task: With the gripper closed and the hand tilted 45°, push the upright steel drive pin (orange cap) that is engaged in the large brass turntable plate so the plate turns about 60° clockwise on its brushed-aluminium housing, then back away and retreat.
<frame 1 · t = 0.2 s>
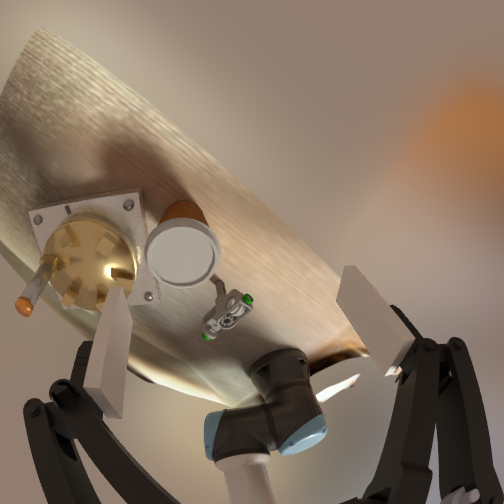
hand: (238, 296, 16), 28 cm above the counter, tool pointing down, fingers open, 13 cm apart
disposable coffee cup: (183, 219, 42), on the counter
mechanical component: (219, 283, 50), on the counter
brass turntable plate: (78, 286, 33), point 10 cm above the counter, hinge at 0.0°
housing: (95, 252, 41), on the counter
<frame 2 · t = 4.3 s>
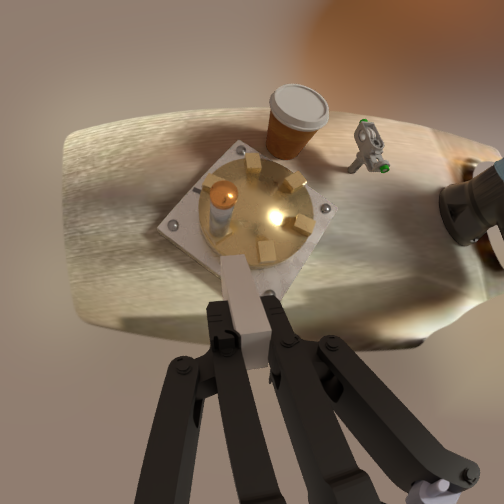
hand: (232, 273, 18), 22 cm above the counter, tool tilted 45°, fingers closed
disposable coffee cup: (282, 146, 48), on the counter
mechanical component: (350, 171, 49), on the counter
brass turntable plate: (263, 193, 33), point 10 cm above the counter, hinge at 0.0°
housing: (251, 221, 43), on the counter
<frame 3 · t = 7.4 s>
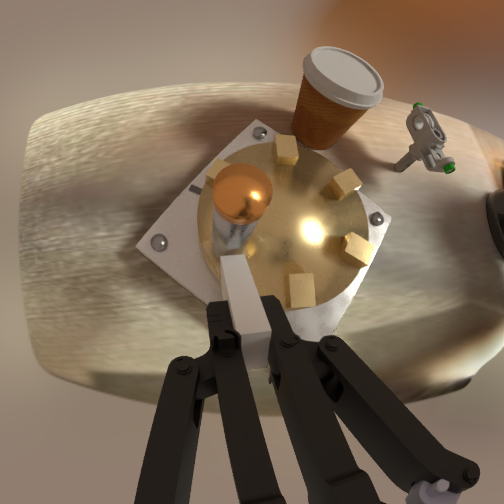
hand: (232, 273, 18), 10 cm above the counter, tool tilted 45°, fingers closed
disposable coffee cup: (313, 132, 34), on the counter
mechanical component: (397, 168, 36), on the counter
brass turntable plate: (305, 196, 20), point 10 cm above the counter, hinge at 3.9°, touching gripper
housing: (275, 236, 29), on the counter
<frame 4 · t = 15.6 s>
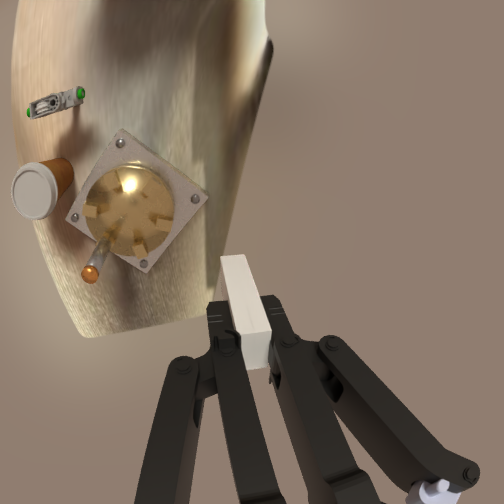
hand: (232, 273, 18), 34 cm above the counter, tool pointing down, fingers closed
disposable coffee cup: (60, 173, 41), on the counter
mechanical component: (76, 101, 35), on the counter
brass turntable plate: (122, 224, 39), point 10 cm above the counter, hinge at 76.9°
housing: (133, 203, 47), on the counter
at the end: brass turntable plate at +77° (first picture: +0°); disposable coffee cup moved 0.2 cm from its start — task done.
